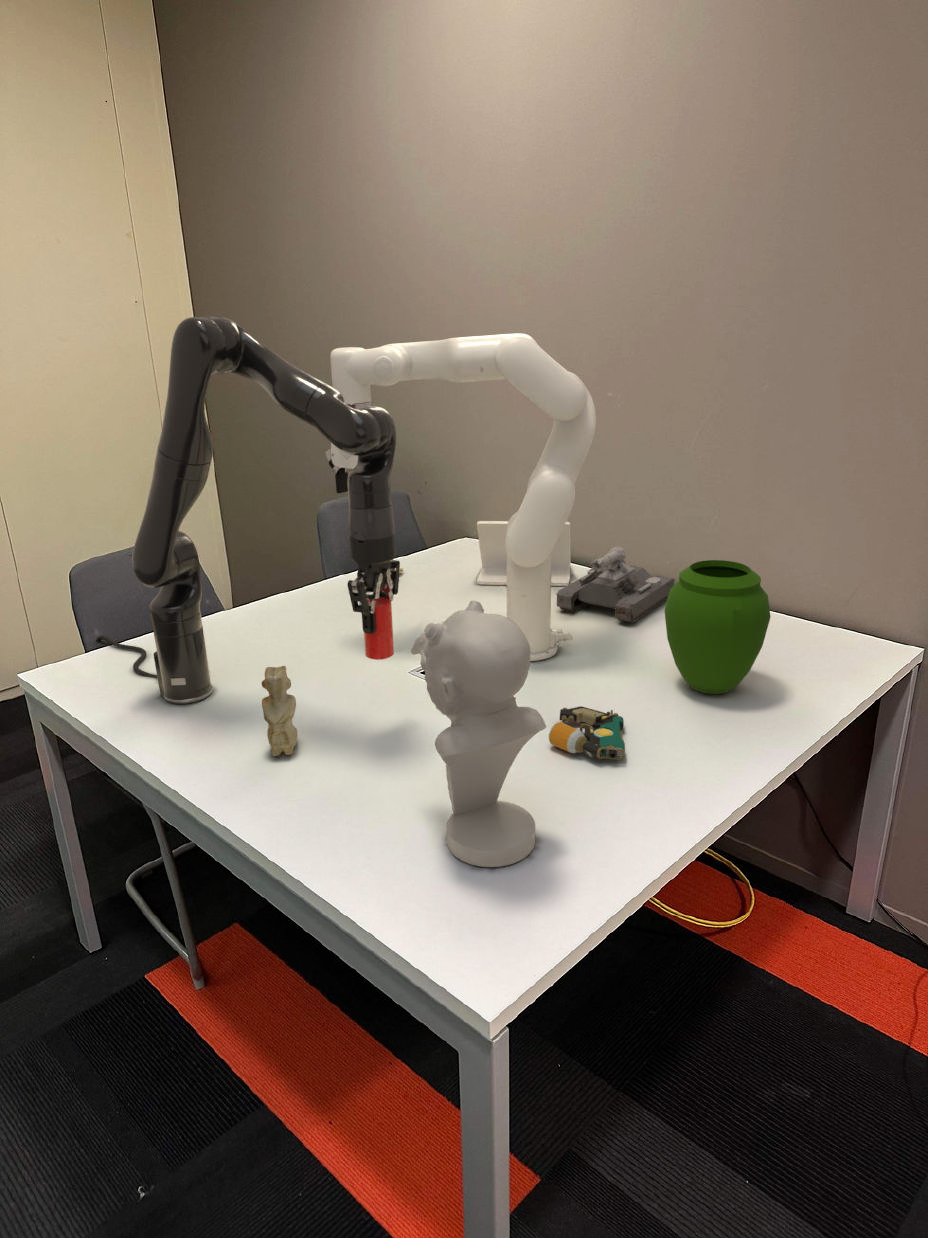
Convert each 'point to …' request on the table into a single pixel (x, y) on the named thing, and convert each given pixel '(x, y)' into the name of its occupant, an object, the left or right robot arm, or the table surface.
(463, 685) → the bust sculpture
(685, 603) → the vase
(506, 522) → the tablet stand
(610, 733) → the spray gun
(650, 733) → the table surface
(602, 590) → the toy
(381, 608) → the canister
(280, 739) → the sculpture
